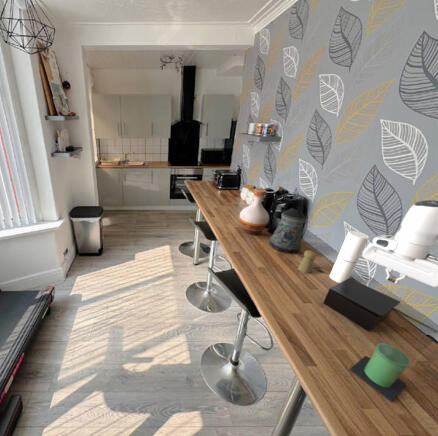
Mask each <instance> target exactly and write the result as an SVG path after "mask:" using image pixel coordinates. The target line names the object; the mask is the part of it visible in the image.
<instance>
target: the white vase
mask: <svg viewBox="0 0 438 436" xmlns="http://www.w3.org/2000/svg"><path fill="white" fill-rule="evenodd" d="M266 194H267V189H265V188H262V187H256V188H254V193H253V196H254V197H253V198H254V200H253V203H250V204H249V205H248V206H246V207H244V208H243V209H242V210H241V211H240V213H239V224H240V227H241V228H242V230H243V231H244V233H246V234H248V235H252V236H253V235H257V234H259V233H261V232H262V231H263V230H264V229H265V228H266V227H267V225H268V224H269V221H270V215H269V212H268V211H267V210H266V209H265V208H264V206H263V205H262V202H263V200H264V198H265V197H266Z"/></svg>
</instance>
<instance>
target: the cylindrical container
mask: <svg viewBox="0 0 438 436" xmlns="http://www.w3.org/2000/svg"><path fill="white" fill-rule="evenodd" d="M369 238H370V235H367V234H366V233H364V232H360V231H357V230H349V231H348V232H347V235H345V238H344V241H343V243H342V246H341V248H340V251H339V252H338V255H337V257H336V260H335V262H334V264H333V266H332V269H331V271H330V273H329V278H330V279H331V280H332V281H334V282H336V283H338V284H339V283H341V282H343V281H345V280H347V279H349V278H351V276H352V273H353V272H354V271H355V268H356V265H357V263H358V262H359V259H360V257H361V255H362V254H363V252H364V250H365V248H366V245H367V243H368V241H369Z"/></svg>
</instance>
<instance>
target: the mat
mask: <svg viewBox="0 0 438 436" xmlns="http://www.w3.org/2000/svg"><path fill="white" fill-rule="evenodd" d="M370 358H371V357H368V356H367V355H364V356H363V357H362V358H361V359H359V361H357V362H356V363H355V364H354V365H352V366H351V367H350V368H349V371H351V372H352V373H353V374H354V375H355V376H357V377H358V378H359V379H360V380H362V382H365V383H366V384H367V385H368V386H369V387H371V388H372V389H373V390H375V391H376V392H377V393H379V395H381V396H382V397H384V398H385V399H386V400H388V401H389V402H390V403H392V402H393V401H394V400H395V399H396V397H398V395H399V394H400V393H401V392H402V390H404V389H405V387H406V386H407V383H406V382H404V381H402V380H401V379H400V378H398V379H397V380H396V381H395V383H394V384H393V386H392V387H390V388H386V387H382V386H380V385H378V384H376V383H375V382H373V381H372V380H371V379H370V378H369V377H368V376H367V375H366V373H365V371H364V368H365V366H366V365H367V363H368V362H369V360H370Z"/></svg>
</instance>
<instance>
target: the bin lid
mask: <svg viewBox="0 0 438 436" xmlns="http://www.w3.org/2000/svg"><path fill="white" fill-rule="evenodd" d="M329 290H330V291H332V292H334V293H336V294H338V295H340V296H342V297H344V298H345V299H347V300H349V301H351V302H353V303H355V304H357V305H359V306H360V307H362V308H364V309H366V310H368V311H370V312H372V313H374V314H375V315H377V316H379V317H382V316H384V315H385V314H386V313H388V312H389V311H390V310H392V311H393V309H394V308H396V307H397V306H399V305H400V304H401V301H400V300H398V299H396V298H393V297H391V296H389V295H387V294H385V293H383V292H380V291H379V290H376V289H374V288H372V287H369V286H368V285H366V284H364V283H361V282H359V281H357V280H354V278H353V279H352V278H351V277H350V278H349V279H347V280H345V281H343V282H341V283H339V282H338V283H337V284H335V285H333V286H331V287H330V288H329V289H328V291H329Z"/></svg>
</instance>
